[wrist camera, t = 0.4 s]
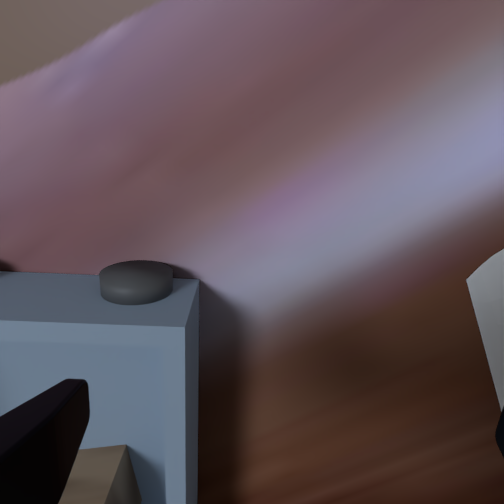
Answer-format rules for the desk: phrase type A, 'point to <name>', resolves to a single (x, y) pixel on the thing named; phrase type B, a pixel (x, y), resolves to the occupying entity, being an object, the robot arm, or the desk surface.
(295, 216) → the desk surface
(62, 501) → the brown cube
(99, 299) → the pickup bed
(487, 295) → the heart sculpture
